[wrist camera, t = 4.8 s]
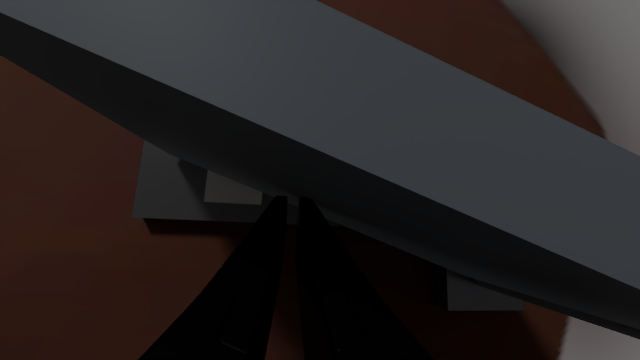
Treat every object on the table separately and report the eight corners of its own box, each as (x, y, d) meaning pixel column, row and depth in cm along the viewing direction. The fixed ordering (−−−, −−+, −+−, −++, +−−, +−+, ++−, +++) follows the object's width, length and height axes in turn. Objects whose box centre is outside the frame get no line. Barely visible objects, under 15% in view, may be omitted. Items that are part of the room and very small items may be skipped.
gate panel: (501, 294, 15) (1058, 484, 4) (166, 157, 13) (-295, -95, 3) (510, 255, 15) (1032, 335, 5) (188, 118, 14) (-130, -230, 3)
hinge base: (507, 303, 17) (524, 310, 15) (435, 303, 16) (447, 310, 15) (501, 225, 17) (517, 226, 16) (433, 222, 17) (445, 222, 15)
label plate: (382, 228, 16) (390, 228, 15) (142, 217, 14) (129, 217, 13) (383, 55, 18) (390, 44, 17) (172, 26, 16) (163, 10, 15)
